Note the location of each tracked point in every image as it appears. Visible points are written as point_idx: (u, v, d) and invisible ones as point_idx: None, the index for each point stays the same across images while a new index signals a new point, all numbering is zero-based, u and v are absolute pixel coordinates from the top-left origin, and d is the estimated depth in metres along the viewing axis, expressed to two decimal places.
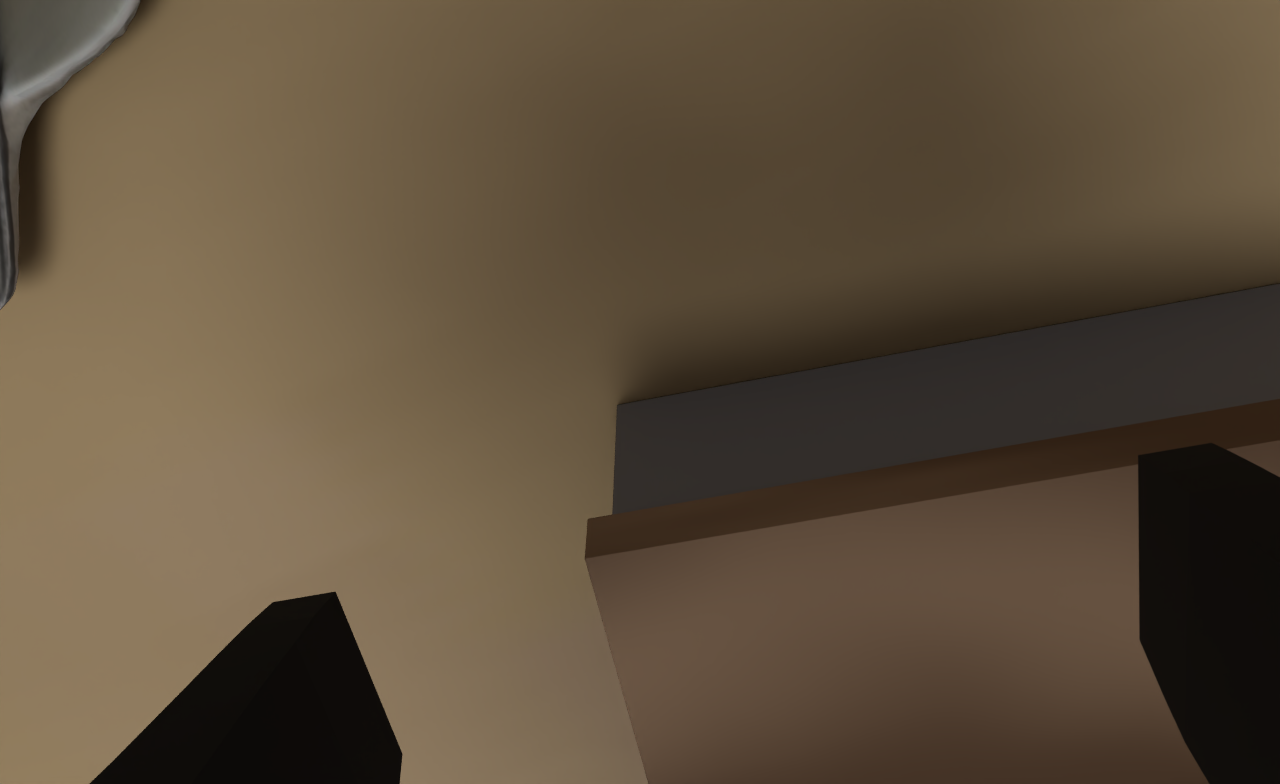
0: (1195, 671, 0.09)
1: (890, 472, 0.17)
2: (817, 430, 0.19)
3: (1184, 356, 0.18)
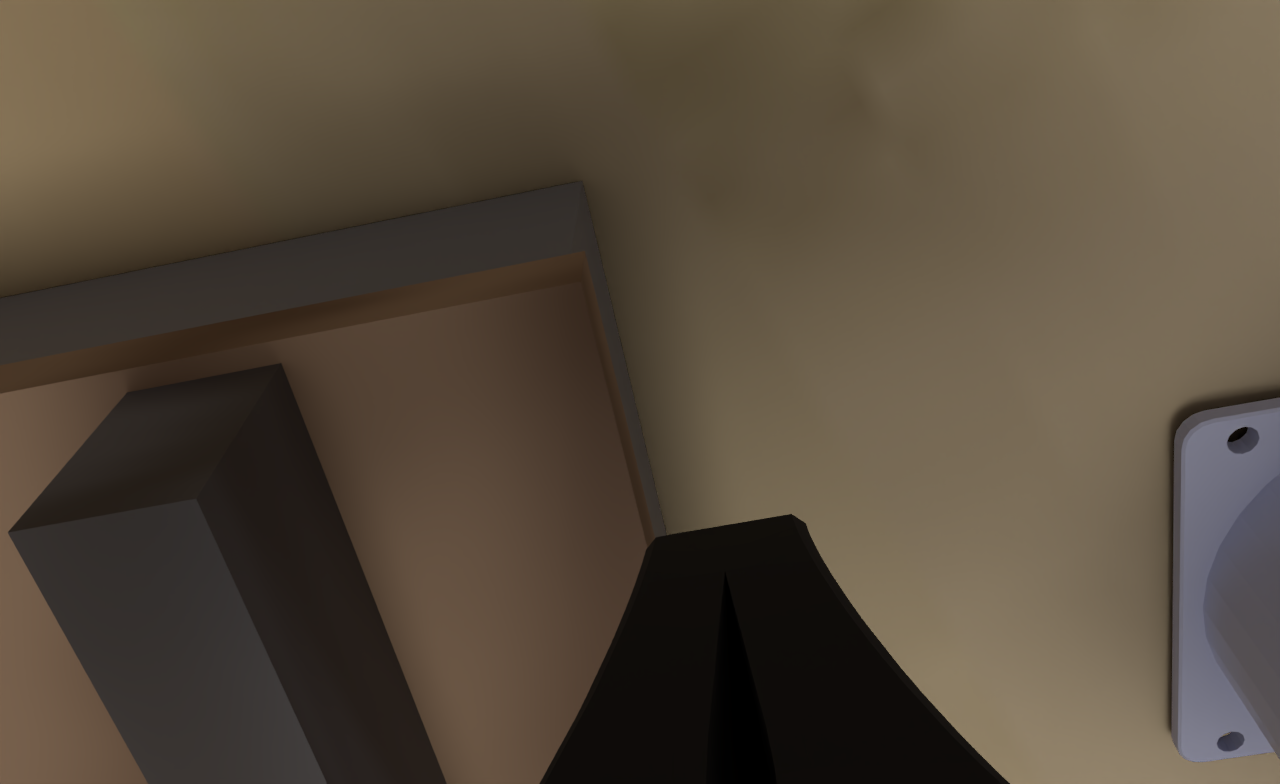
0: (760, 736, 0.09)
1: None
2: None
3: None
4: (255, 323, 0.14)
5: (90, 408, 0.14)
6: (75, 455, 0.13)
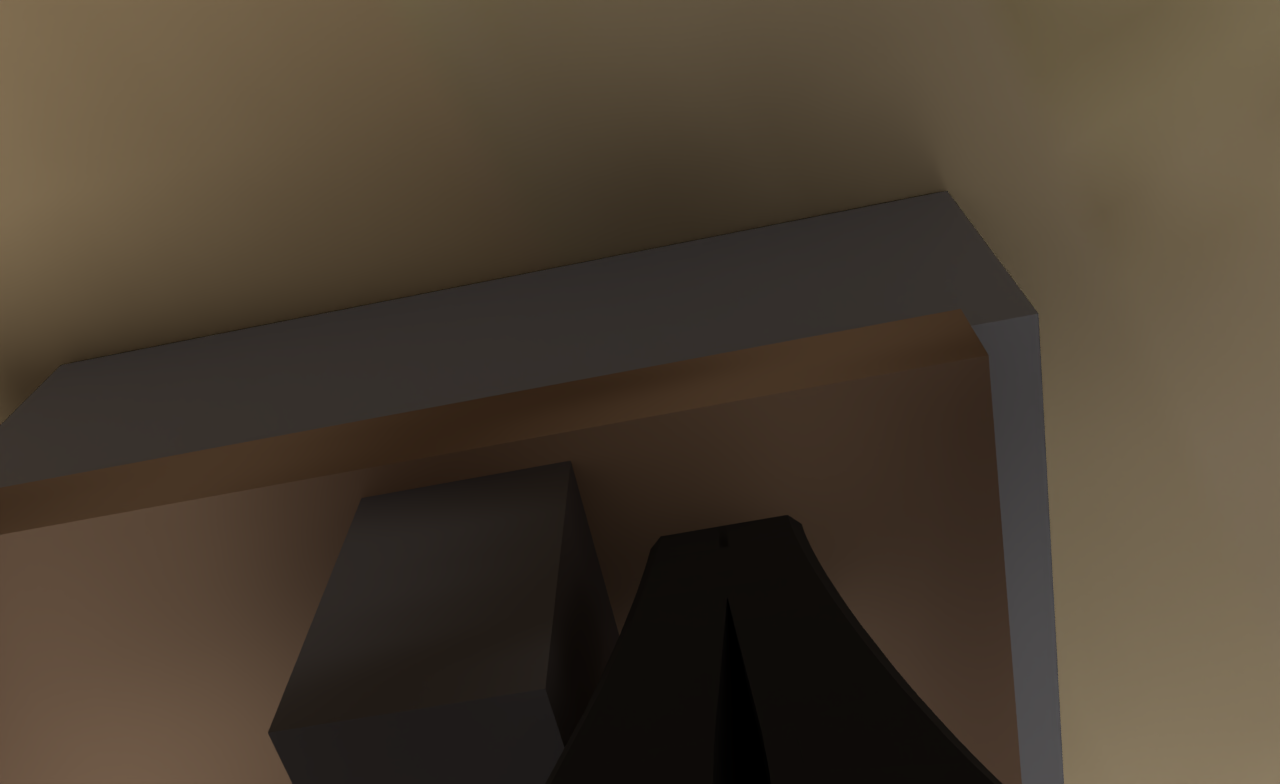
0: None
1: None
2: None
3: None
4: (522, 403, 0.11)
5: (312, 518, 0.11)
6: (324, 599, 0.09)
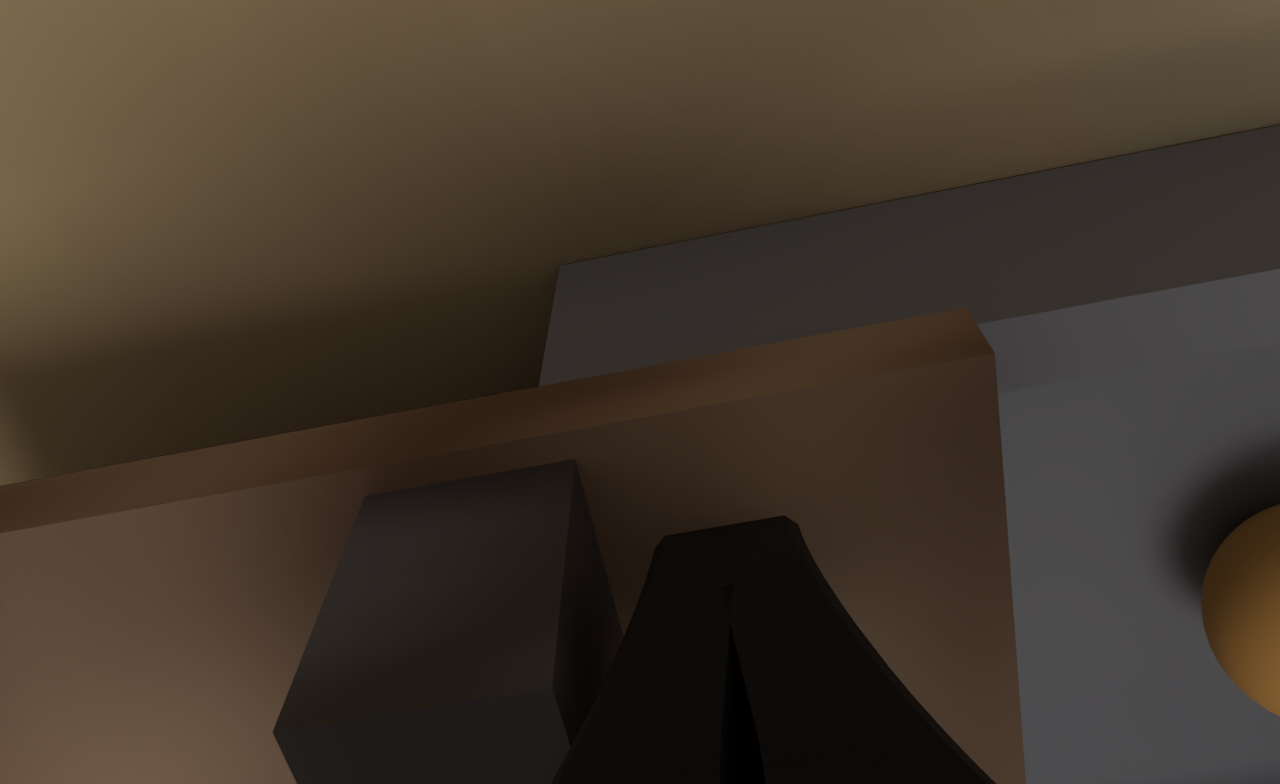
0: None
1: None
2: None
3: None
4: (525, 402, 0.11)
5: (314, 517, 0.11)
6: (329, 598, 0.09)
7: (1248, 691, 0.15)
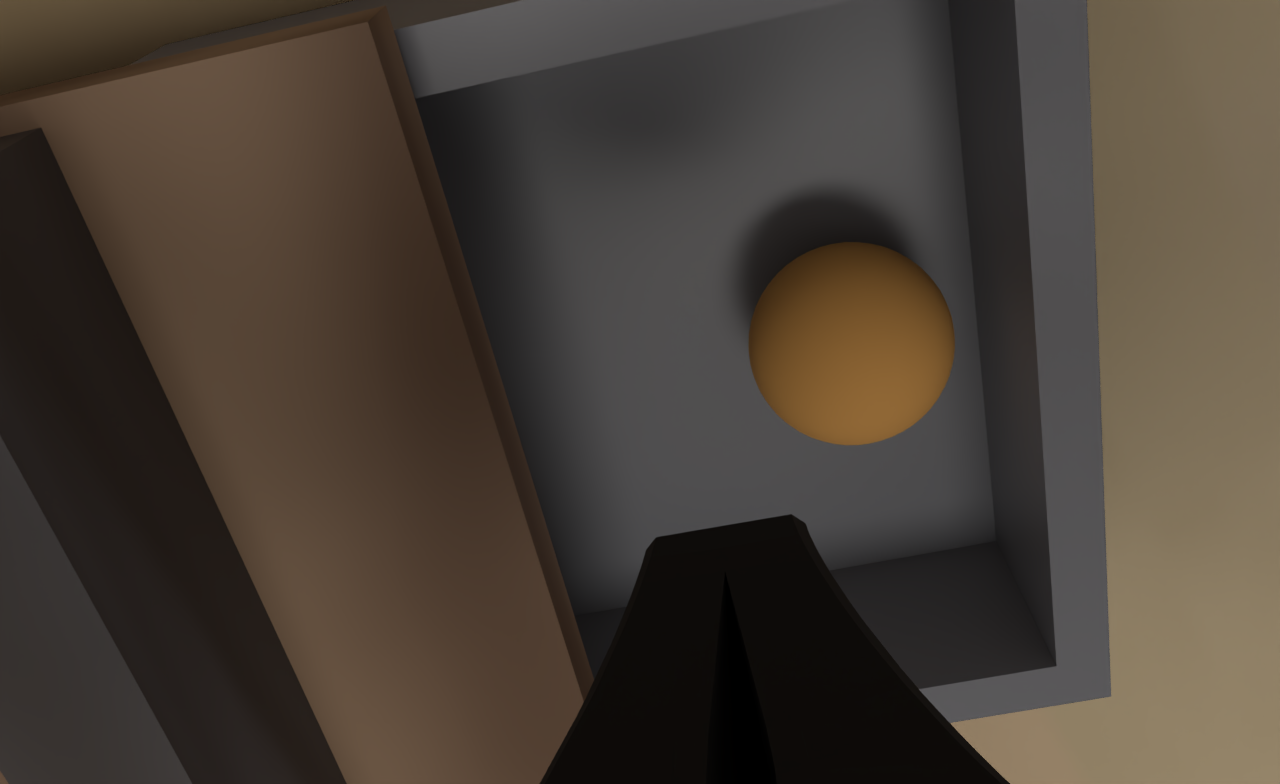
0: (761, 737, 0.10)
1: None
2: None
3: None
4: (19, 93, 0.13)
5: None
6: None
7: (777, 412, 0.17)
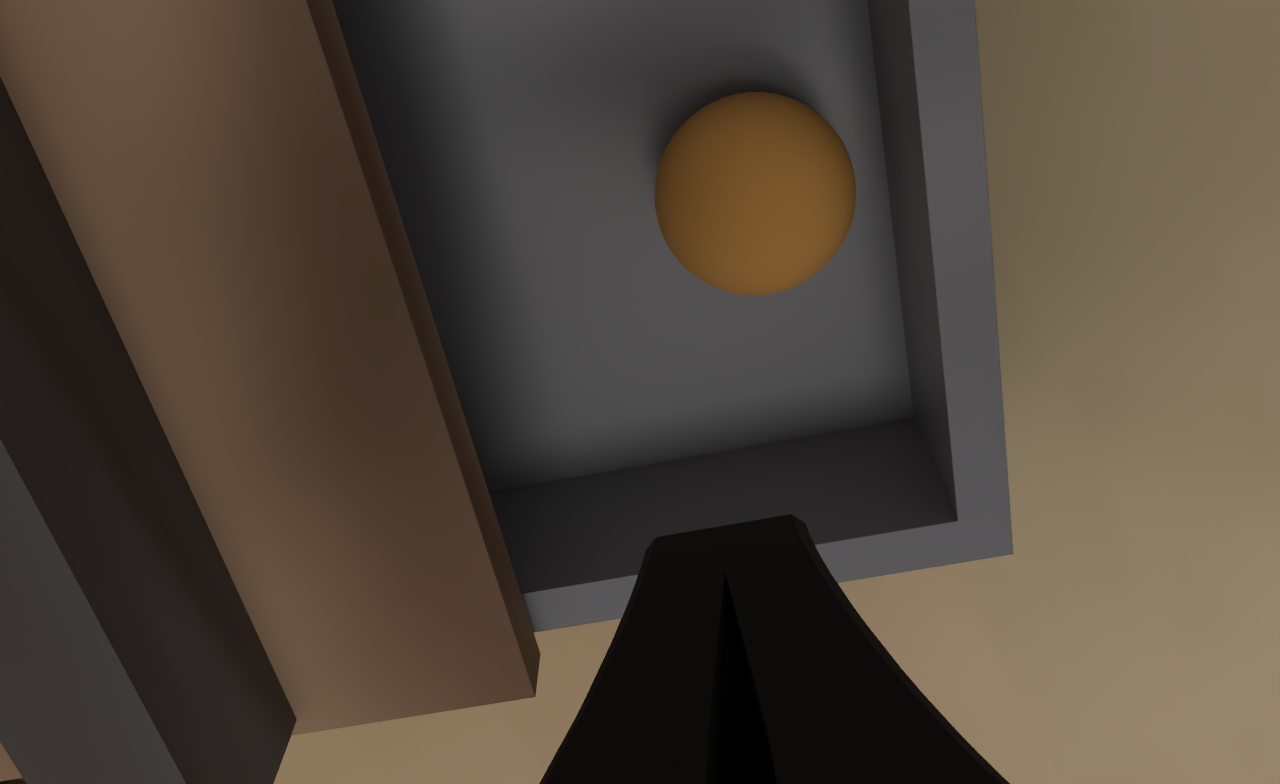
0: (761, 738, 0.09)
1: None
2: None
3: None
4: None
5: None
6: None
7: (681, 260, 0.17)
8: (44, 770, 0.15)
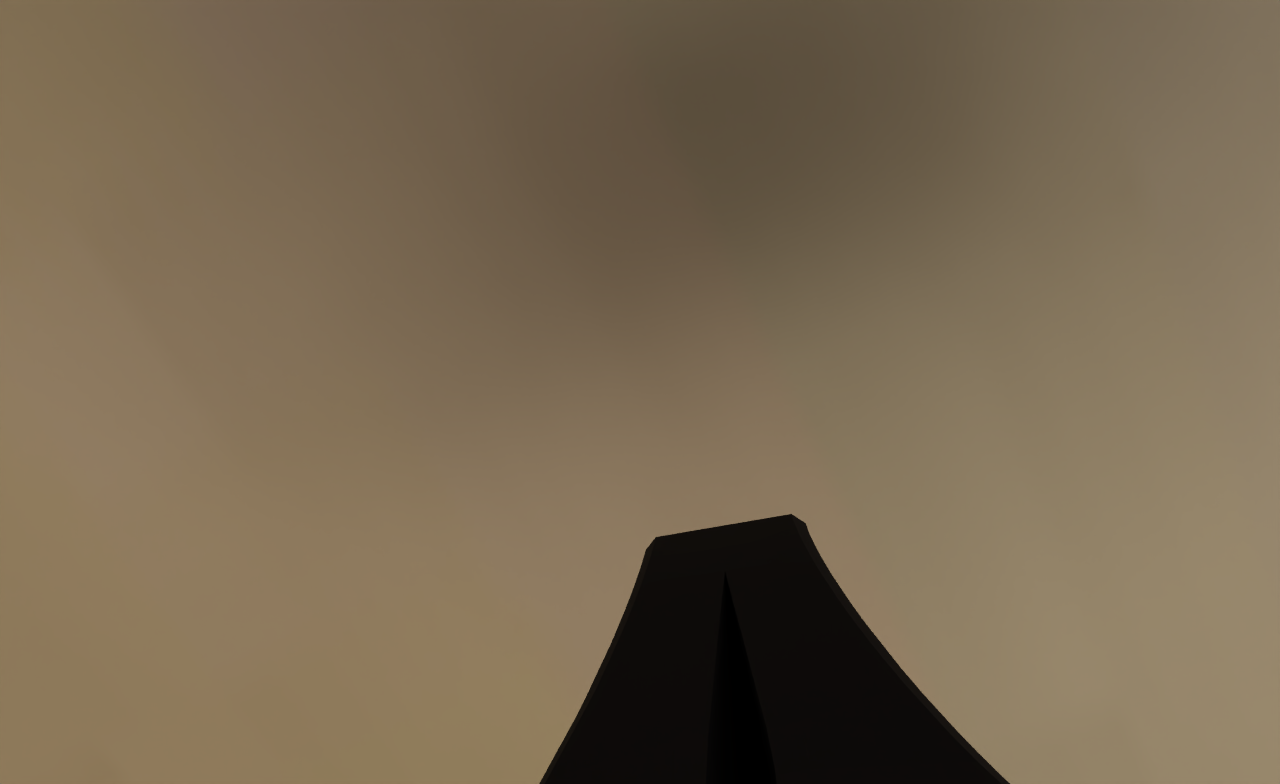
0: (760, 738, 0.09)
1: None
2: None
3: None
4: None
5: None
6: None
7: None
8: None
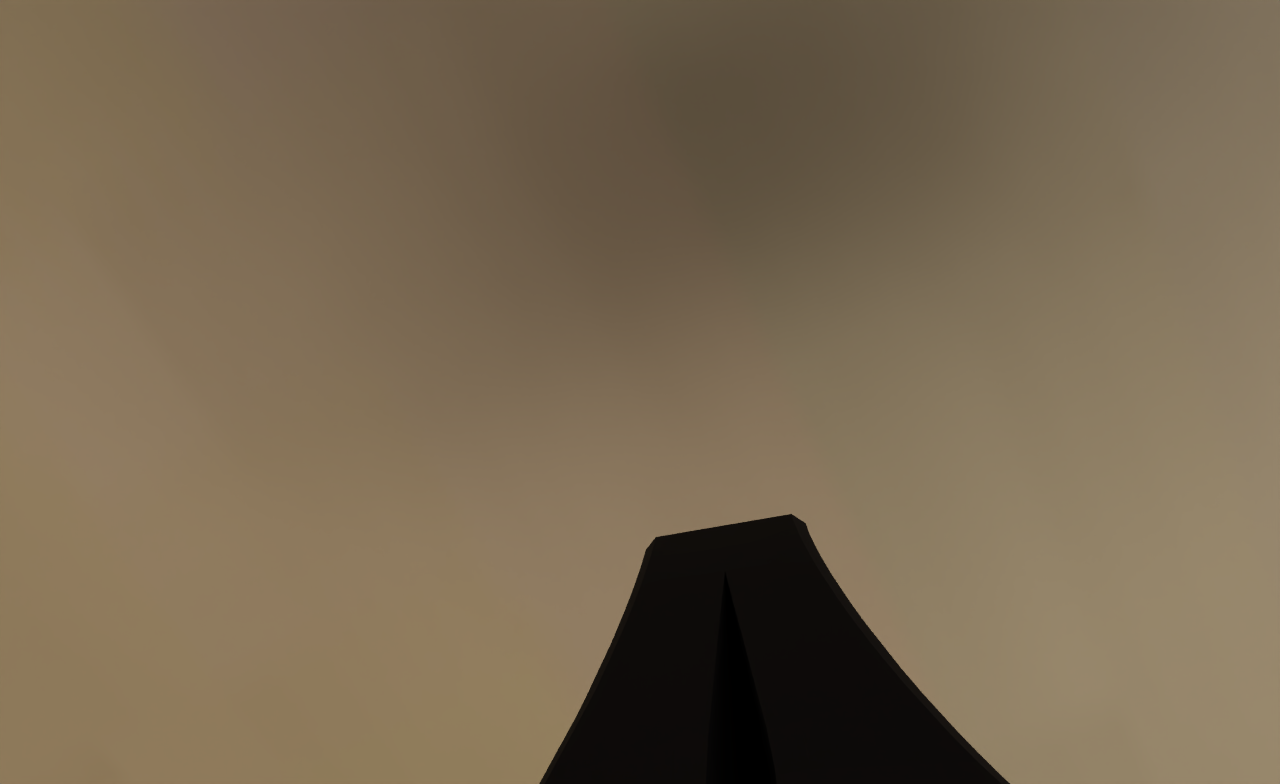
0: (760, 738, 0.09)
1: None
2: None
3: None
4: None
5: None
6: None
7: None
8: None
